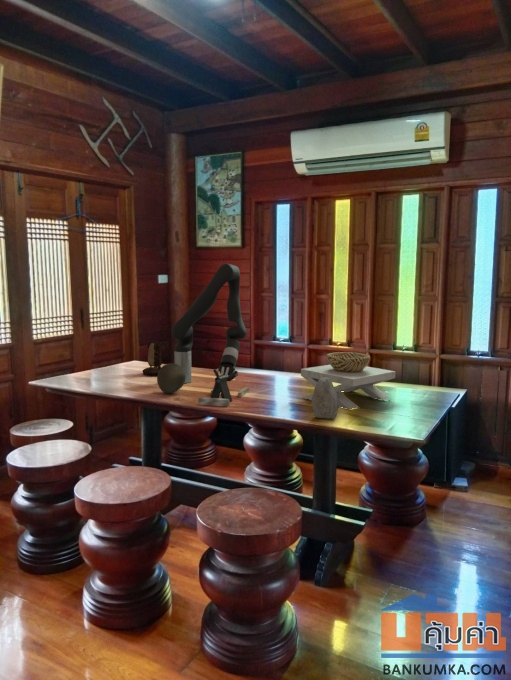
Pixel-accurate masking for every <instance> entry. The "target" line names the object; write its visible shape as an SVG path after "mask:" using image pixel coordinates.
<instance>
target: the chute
mask: <svg viewBox="0 0 511 680" xmlns="http://www.w3.org/2000/svg"><path fill="white" fill-rule="evenodd" d="M212 391H213V389H211V390H210V395H211V394H212ZM248 391H249V392H250V387H249V386H246V387H244V388H242V389H241V390H240V391H238V392H237V397H239V398H243V397H244V396H245V395H246V394H248V393H249V392H248ZM243 395H244V396H243ZM198 405H200V406H201V405H202V406H215V407H229V406H230V402H229V399H222V398H221V397H219V398H210V397H205V396H202V397H201V396H200V397H198Z"/></svg>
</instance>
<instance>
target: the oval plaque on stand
mask: <svg viewBox="0 0 511 680" xmlns="http://www.w3.org/2000/svg"><path fill="white" fill-rule="evenodd" d="M147 348H148V352H147V353H148V354H147V364H148V366H149V367H146V368H143V370H142V374H143V375H151V377H152V376H153V377H154V375H158V372H159V370H160V369H161V367H162V366H163V365H162V364H163V359H162V358H161V357H162V353H161V352H162V351H161V350H162V348H163V344H162V342H160V341H154V340H149V341H148V343H147Z"/></svg>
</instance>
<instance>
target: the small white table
mask: <svg viewBox="0 0 511 680" xmlns="http://www.w3.org/2000/svg"><path fill="white" fill-rule="evenodd" d="M326 359H327V361H328V364H327V365H326V364H325V365H318V366H312V367H306V368H300V376H301V377H302V378H303V379H305V380H306V382H309V384H310V385H312V386H313V387H314V388H315V386H316V384H317V382H318V380H319V379H321V378H323V377H326V378H330V380H331V381H332V383H333V384H338V385H335V386H334V388H335V391H336V393H337V396H338V408H340V407H343V408H347V409H352V408H356V407H359V406H358V405H357V404H356V403H354V402H353V400H350V399H349V398H348V397H347V396H346V395H344V393H343V392H341V391H344V392H348V393H351V391H352V392H355V391H358V390H361V391H363V392H364V393H365V394H367V395H368V396H369V397H370V398H371V399H373V398H377V399H382V400H383V399H386V398H389V397H390V396H388V395H387V393H385V392H383V391H381V390H380V389H379V388H377V386H375V385H378V384H380V383H384V382H387V381H390V380H393V379H396V374H397V373H396V371H394V370H389V369H385V368H378V367H372V366H368V364H369V363H370V361H371V356H370V355H369V354H367V353H362V352H349V351H348V352H347V351H343V352H340V351H337V352H330V353H327V354H326ZM312 396H313V393H311V394H308V395H305V396H302V397H301V399H305V400H307V399H309V401H312ZM343 408H342V409H343ZM347 409H346V410H347Z"/></svg>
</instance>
